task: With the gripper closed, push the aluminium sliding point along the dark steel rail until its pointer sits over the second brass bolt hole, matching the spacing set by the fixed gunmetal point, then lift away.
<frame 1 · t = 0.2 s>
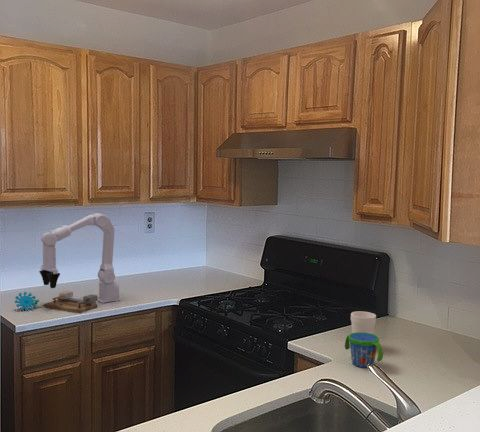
hand: (49, 286, 255), 10 cm above the worktop, tool pointing down, fingers open, 7 cm apart
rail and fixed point: (72, 299, 257), on the hole board, point 4 cm above the worktop
slider: (61, 297, 259), point 4 cm above the worktop, slide at -6.0 cm
hole board: (72, 306, 258), on the worktop
foam cup: (361, 347, 209), on the worktop
gear: (27, 309, 252), on the worktop
snack cup: (362, 364, 191), on the worktop
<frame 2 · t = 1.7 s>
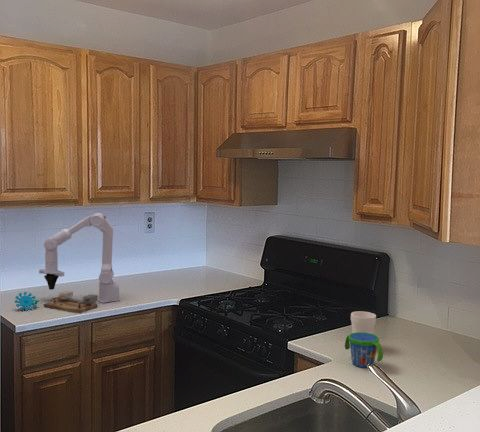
hand: (51, 289, 266), 6 cm above the worktop, tool pointing down, fingers closed
nothing on the worktop moved.
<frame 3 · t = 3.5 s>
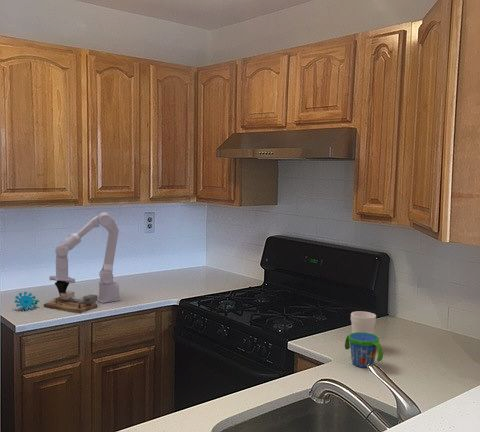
hand: (62, 296, 263), 3 cm above the worktop, tool pointing down, fingers closed
slider: (63, 297, 259), point 4 cm above the worktop, slide at -5.0 cm, touching gripper
everything else where it was.
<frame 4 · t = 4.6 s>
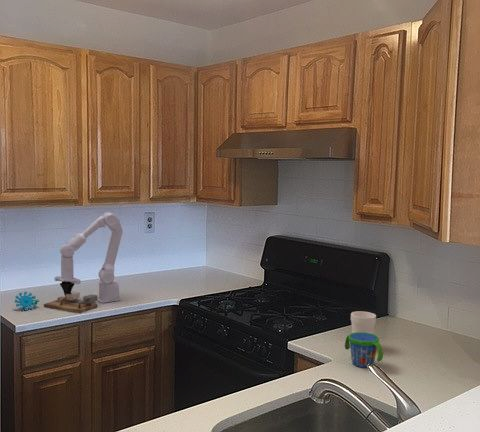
hand: (67, 296, 262), 3 cm above the worktop, tool pointing down, fingers closed
slider: (68, 298, 258), point 4 cm above the worktop, slide at -1.7 cm, touching gripper
everything else where it was.
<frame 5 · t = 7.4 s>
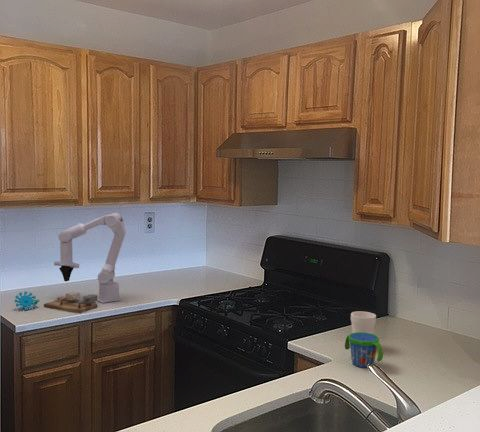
hand: (66, 280, 269), 9 cm above the worktop, tool pointing down, fingers closed
slider: (68, 298, 258), point 4 cm above the worktop, slide at -1.7 cm
everything else where it was.
at the end: slider slide at -1.7 cm; gear moved 0.8 cm from its start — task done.
